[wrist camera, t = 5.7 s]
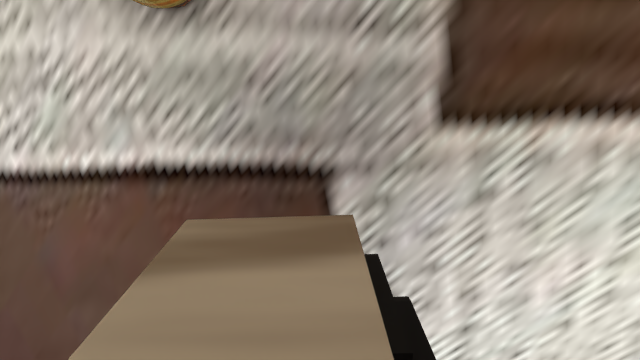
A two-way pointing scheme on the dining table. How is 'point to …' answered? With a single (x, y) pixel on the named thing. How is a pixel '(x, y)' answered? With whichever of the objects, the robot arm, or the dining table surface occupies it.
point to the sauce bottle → (163, 3)
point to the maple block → (249, 296)
